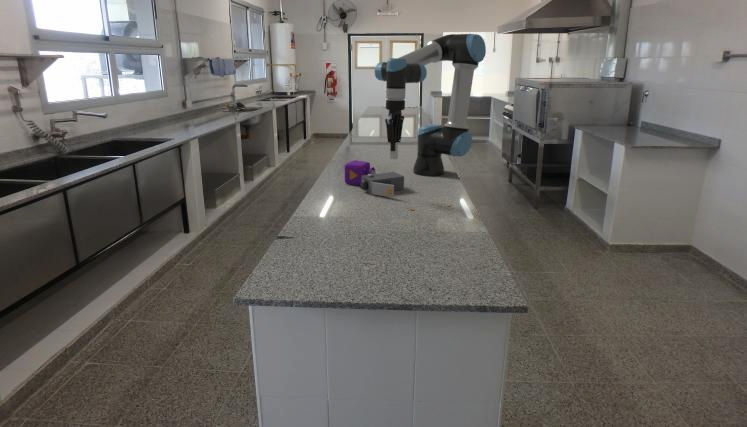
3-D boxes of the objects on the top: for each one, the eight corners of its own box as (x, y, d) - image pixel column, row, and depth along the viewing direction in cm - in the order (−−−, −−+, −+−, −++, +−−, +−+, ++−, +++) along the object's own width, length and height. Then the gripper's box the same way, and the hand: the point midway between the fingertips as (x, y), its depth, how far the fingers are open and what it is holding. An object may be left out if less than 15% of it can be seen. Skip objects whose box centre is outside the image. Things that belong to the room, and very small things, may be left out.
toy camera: (373, 187, 216) (373, 165, 212) (343, 185, 218) (342, 163, 215) (377, 181, 226) (378, 159, 222) (349, 179, 228) (348, 158, 225)
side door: (393, 197, 200) (394, 184, 198) (392, 198, 199) (392, 185, 197) (371, 193, 205) (371, 181, 203) (369, 194, 203) (369, 182, 202)
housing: (393, 184, 219) (393, 170, 217) (403, 189, 212) (404, 174, 210) (358, 189, 212) (358, 174, 210) (367, 194, 204) (367, 179, 202)
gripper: (394, 97, 199) (392, 154, 206) (379, 100, 188) (378, 160, 196) (411, 98, 196) (408, 156, 203) (397, 101, 185) (395, 162, 192)
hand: (393, 158), depth 199 cm, fingers closed
